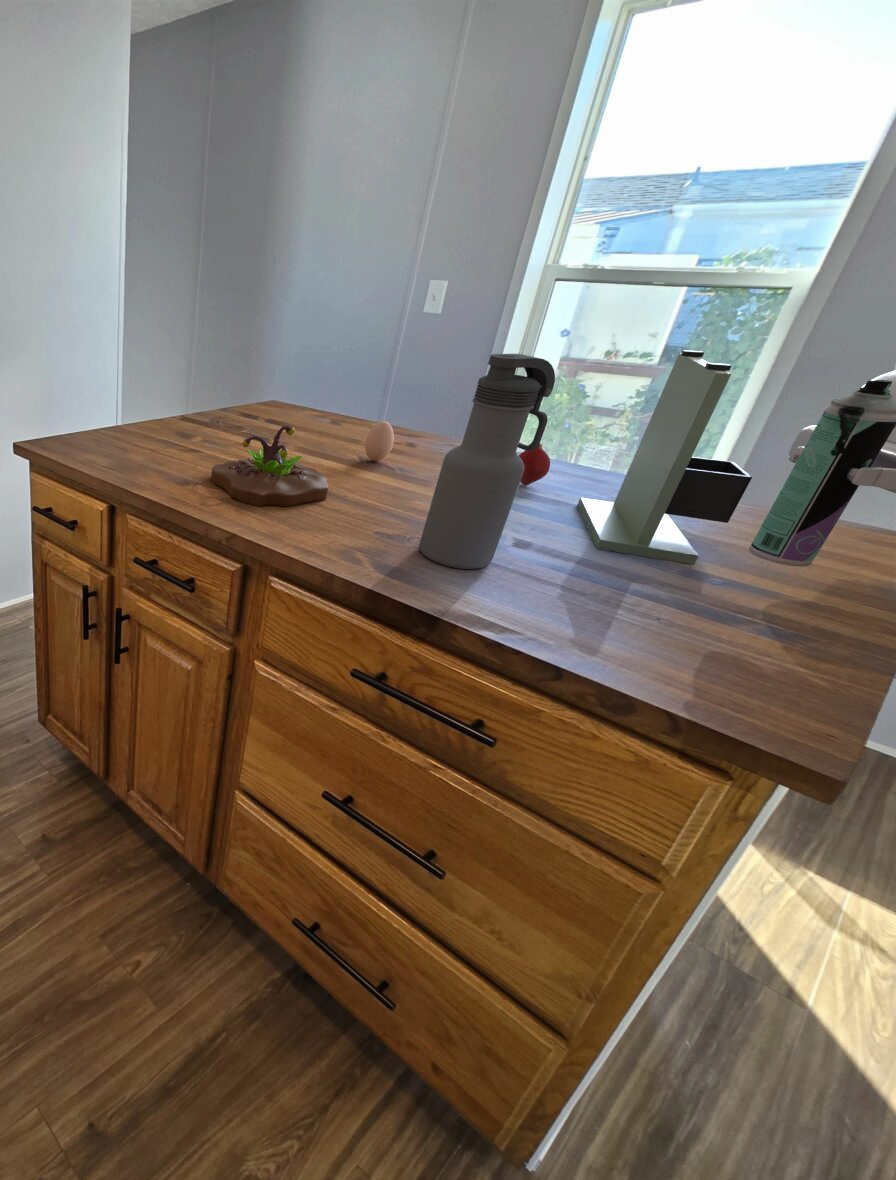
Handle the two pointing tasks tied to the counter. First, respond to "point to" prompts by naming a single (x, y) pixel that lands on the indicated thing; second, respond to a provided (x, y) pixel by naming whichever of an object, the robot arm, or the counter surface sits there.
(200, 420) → the counter surface
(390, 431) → the egg
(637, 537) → the white stand
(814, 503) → the spray can
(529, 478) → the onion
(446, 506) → the water bottle
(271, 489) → the plant
